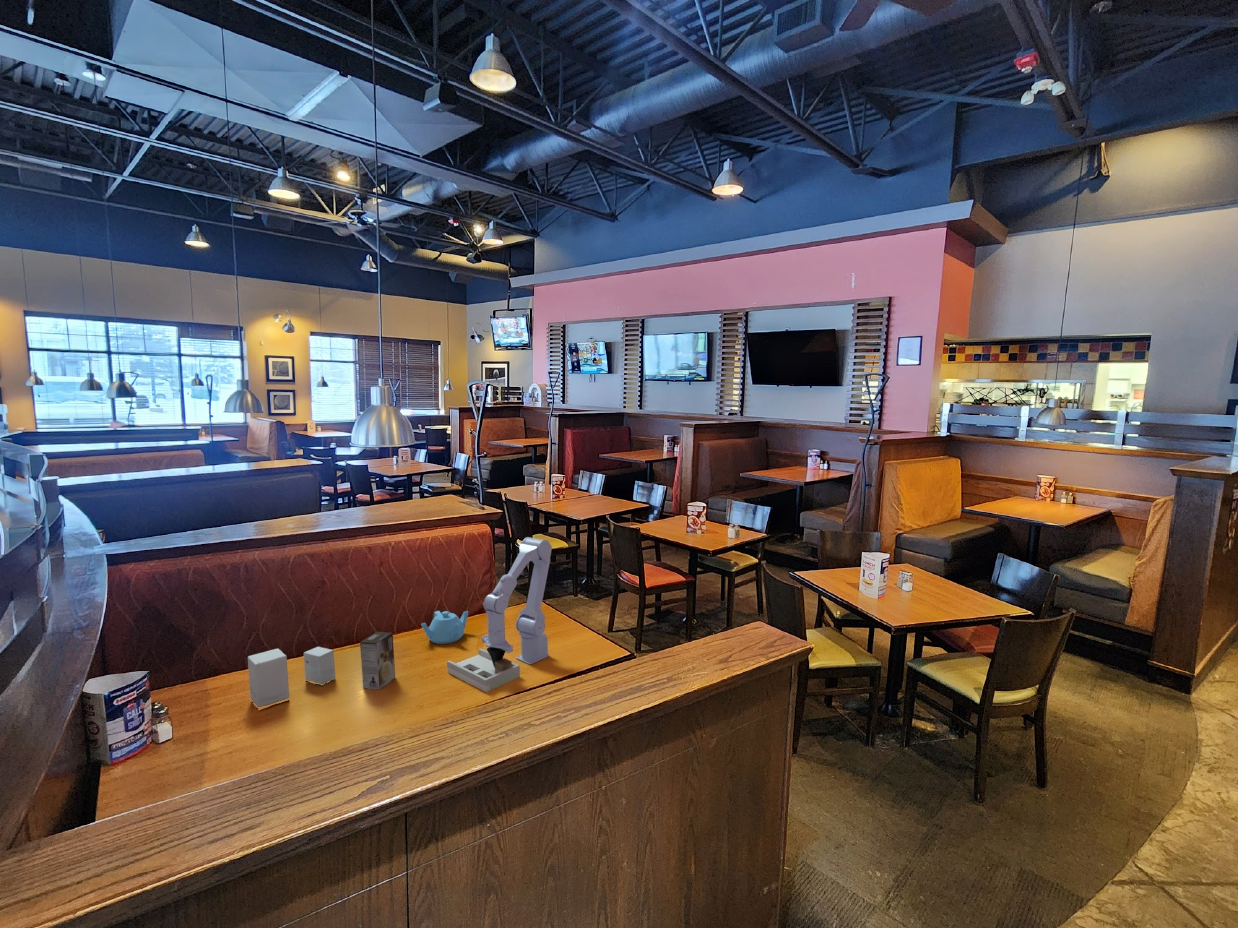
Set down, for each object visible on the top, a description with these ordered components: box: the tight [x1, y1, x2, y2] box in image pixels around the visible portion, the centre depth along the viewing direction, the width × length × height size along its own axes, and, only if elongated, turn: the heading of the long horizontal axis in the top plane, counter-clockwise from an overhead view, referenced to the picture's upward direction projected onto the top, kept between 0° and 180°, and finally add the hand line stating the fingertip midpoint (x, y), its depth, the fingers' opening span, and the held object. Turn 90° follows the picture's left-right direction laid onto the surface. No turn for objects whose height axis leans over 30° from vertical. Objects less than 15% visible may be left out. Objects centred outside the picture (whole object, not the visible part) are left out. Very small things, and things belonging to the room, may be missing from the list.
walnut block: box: [495, 657, 513, 674], centre depth 195 cm, size 4×4×4 cm
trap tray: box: [446, 647, 521, 693], centre depth 198 cm, size 14×22×4 cm, turn 49°
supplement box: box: [247, 648, 290, 707], centre depth 181 cm, size 9×9×15 cm
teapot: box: [420, 610, 469, 645], centre depth 230 cm, size 15×15×11 cm
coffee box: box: [359, 631, 396, 690], centre depth 193 cm, size 9×6×16 cm
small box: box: [303, 646, 337, 684], centre depth 195 cm, size 8×6×10 cm
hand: (497, 667), depth 197 cm, fingers closed
